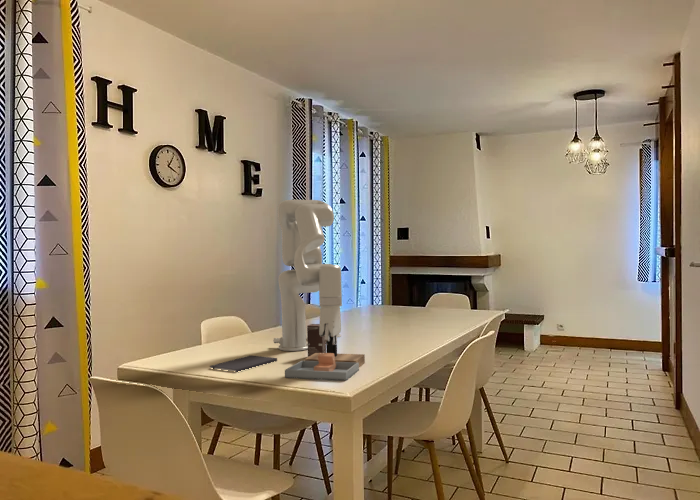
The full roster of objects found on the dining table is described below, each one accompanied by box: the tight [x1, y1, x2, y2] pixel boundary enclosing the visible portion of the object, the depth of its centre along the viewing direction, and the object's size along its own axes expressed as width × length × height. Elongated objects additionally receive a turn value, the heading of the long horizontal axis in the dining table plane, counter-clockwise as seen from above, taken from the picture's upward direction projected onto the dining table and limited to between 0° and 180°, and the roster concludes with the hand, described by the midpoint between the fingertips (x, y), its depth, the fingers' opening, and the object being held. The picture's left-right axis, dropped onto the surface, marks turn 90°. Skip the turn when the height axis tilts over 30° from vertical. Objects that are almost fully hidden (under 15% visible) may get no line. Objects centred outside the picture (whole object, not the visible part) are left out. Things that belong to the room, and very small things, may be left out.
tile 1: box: [314, 364, 334, 371], centre depth 182 cm, size 5×5×2 cm
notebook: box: [209, 354, 278, 373], centre depth 198 cm, size 13×2×21 cm
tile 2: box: [318, 352, 336, 370], centre depth 185 cm, size 5×5×2 cm
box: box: [306, 323, 327, 357], centre depth 208 cm, size 6×4×12 cm
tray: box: [284, 360, 360, 382], centre depth 181 cm, size 20×14×2 cm
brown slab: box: [304, 353, 366, 368], centre depth 193 cm, size 18×11×3 cm, turn 74°
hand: (331, 356), depth 190 cm, fingers closed
